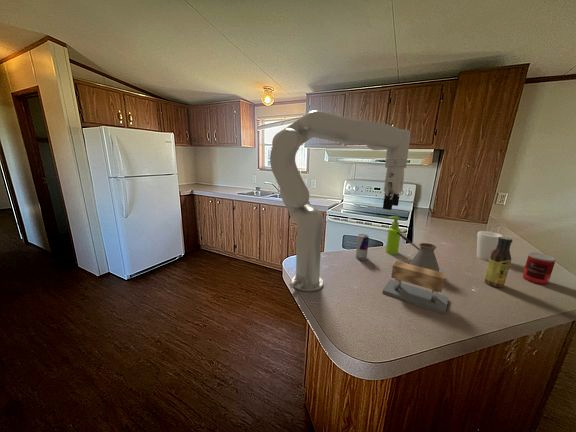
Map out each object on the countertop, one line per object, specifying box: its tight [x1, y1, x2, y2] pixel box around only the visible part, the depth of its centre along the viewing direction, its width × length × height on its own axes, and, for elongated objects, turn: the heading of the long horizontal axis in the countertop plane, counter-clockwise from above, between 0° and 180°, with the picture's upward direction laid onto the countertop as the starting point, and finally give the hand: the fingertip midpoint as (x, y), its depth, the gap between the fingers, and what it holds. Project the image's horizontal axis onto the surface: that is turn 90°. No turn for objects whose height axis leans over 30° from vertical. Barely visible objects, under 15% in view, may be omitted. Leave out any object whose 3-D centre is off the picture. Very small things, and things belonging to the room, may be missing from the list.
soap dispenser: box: [385, 215, 402, 255], centre depth 123 cm, size 6×7×20 cm
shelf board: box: [390, 260, 446, 293], centre depth 84 cm, size 16×5×5 cm, turn 53°
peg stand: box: [382, 279, 449, 315], centre depth 85 cm, size 10×20×6 cm, turn 52°
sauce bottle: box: [484, 236, 513, 288], centre depth 93 cm, size 6×6×20 cm
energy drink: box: [355, 233, 370, 261], centre depth 117 cm, size 5×5×12 cm
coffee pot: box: [395, 232, 440, 272], centre depth 106 cm, size 21×12×15 cm, turn 31°
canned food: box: [522, 252, 556, 286], centre depth 97 cm, size 8×8×11 cm
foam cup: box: [476, 230, 504, 261], centre depth 118 cm, size 10×9×13 cm
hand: (390, 207), depth 94 cm, fingers open, 9 cm apart
